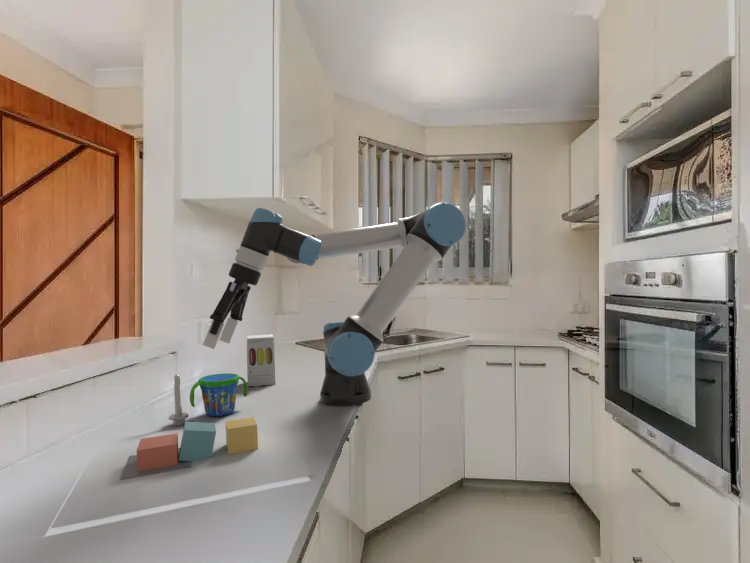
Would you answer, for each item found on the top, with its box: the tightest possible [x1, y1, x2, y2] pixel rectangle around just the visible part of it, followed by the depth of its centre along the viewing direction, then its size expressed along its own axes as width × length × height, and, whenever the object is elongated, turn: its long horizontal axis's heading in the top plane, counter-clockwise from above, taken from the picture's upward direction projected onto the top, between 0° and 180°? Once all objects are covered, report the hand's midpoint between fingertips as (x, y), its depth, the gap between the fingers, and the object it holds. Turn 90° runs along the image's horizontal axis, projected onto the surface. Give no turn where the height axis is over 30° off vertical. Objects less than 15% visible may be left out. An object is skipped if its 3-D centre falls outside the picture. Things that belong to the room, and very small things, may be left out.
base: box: [120, 432, 192, 481], centre depth 90 cm, size 12×12×5 cm
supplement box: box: [246, 333, 276, 388], centre depth 159 cm, size 10×9×17 cm
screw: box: [168, 374, 190, 427], centre depth 116 cm, size 13×5×5 cm
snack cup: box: [189, 372, 249, 417], centre depth 124 cm, size 16×10×10 cm
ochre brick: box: [225, 416, 259, 455], centre depth 97 cm, size 6×6×6 cm
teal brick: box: [179, 421, 217, 462], centre depth 93 cm, size 6×6×6 cm
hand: (216, 344), depth 115 cm, fingers open, 13 cm apart
